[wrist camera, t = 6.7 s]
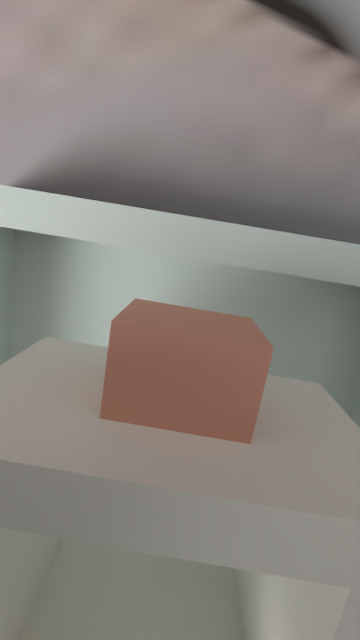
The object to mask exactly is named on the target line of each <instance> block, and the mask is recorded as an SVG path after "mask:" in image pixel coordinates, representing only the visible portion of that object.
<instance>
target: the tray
mask: <svg viewBox="0 0 360 640" xmlns="http://www.w3.org/2000/svg"><path fill="white" fill-rule="evenodd" d="M135 298H137V299H143V300H149V301H154V302H160V303H166V304H172V305H178V306H184V307H190V308H196V309H202V310H207V311H213V312H219V313H225V314H231V315H237V316H243V317H249V318H252V320H253V321H254V322H255V324H256V325H257V326H258V328H259V329H260V330H261V332H262V333H263V335H264V336H265V337H266V339H267V340H268V341H269V343H270V344H271V345H272V347H273V348H274V350H273V354H272V358H271V362H270V366H269V370H268V374H267V375H273V376H279V377H285V378H291V379H297V380H303V381H308V382H314V383H320V384H321V385H322V387H323V388H324V389H325V390H326V391H327V392H328V393H329V394H330V396H331V397H332V398H333V399H334V400H335V401H336V402H337V403H338V405H339V406H340V407H341V408H342V409H343V410H344V411H345V412H346V414H347V415H348V416H349V417H350V418H351V419H352V420H353V422H354V423H355V424H356V425H357V426H358V427H359V428H360V244H354V243H348V242H342V241H336V240H330V239H324V238H318V237H312V236H306V235H300V234H294V233H288V232H282V231H276V230H270V229H264V228H258V227H252V226H246V225H240V224H234V223H228V222H222V221H216V220H210V219H204V218H198V217H192V216H186V215H180V214H174V213H167V212H161V211H155V210H149V209H143V208H137V207H131V206H125V205H119V204H113V203H107V202H101V201H95V200H89V199H83V198H77V197H71V196H65V195H59V194H53V193H47V192H41V191H35V190H29V189H23V188H17V187H11V186H5V185H0V365H2V364H3V363H5V362H6V361H8V360H10V359H11V358H13V357H14V356H16V355H18V354H19V353H21V352H22V351H24V350H25V349H27V348H29V347H30V346H32V345H33V344H35V343H36V342H38V341H40V340H41V339H43V338H44V337H51V338H56V339H62V340H68V341H74V342H80V343H86V344H92V345H97V346H103V347H108V344H109V336H110V328H111V321H112V320H113V319H114V318H115V317H116V316H117V315H118V314H119V313H120V312H121V311H122V310H123V309H124V308H125V307H126V306H127V305H129V304H130V303H131V302H132V301H133V300H134V299H135Z"/></svg>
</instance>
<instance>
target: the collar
mask: <svg viewBox="0 0 360 640" xmlns="http://www.w3.org/2000/svg"><path fill="white" fill-rule="evenodd" d="M273 350H274V348H273V347H272V345H271V344H270V343H269V341H268V340H267V339H266V337H265V336H264V335H263V333H262V332H261V330H260V329H259V328H258V326H257V325H256V324H255V322H254V321H253V320H252V318H249V317H243V316H237V315H231V314H225V313H219V312H213V311H207V310H202V309H196V308H190V307H184V306H178V305H172V304H166V303H160V302H154V301H149V300H143V299H137V298H135V299H134V300H133V301H132V302H131V303H130V304H129V305H127V306H126V307H125V308H124V309H123V310H122V311H121V312H120V313H119V314H118V315H117V316H116V317H115V318H114V319H113V320H112V321H111V328H110V336H109V344H108V347H103V346H97V345H92V344H86V343H80V342H74V341H68V340H62V339H56V338H51V337H44V338H43V339H41V340H40V341H38V342H36V343H35V344H33V345H32V346H30V347H29V348H27V349H25V350H24V351H22V352H21V353H19V354H18V355H16V356H14V357H13V358H11V359H10V360H8V361H6V362H5V363H3V364H2V365H0V640H360V428H359V427H358V426H357V425H356V424H355V423H354V422H353V420H352V419H351V418H350V417H349V416H348V415H347V414H346V412H345V411H344V410H343V409H342V408H341V407H340V406H339V405H338V403H337V402H336V401H335V400H334V399H333V398H332V397H331V396H330V394H329V393H328V392H327V391H326V390H325V389H324V388H323V387H322V385H321V384H320V383H314V382H308V381H303V380H297V379H291V378H285V377H279V376H273V375H267V374H268V370H269V366H270V362H271V358H272V354H273Z"/></svg>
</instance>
